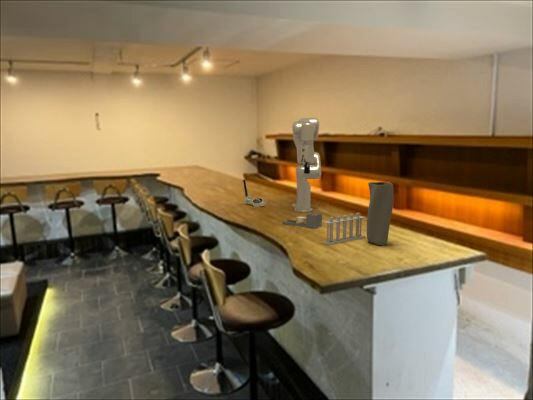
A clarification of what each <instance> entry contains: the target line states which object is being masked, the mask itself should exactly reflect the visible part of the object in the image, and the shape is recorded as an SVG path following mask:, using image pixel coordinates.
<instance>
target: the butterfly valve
mask: <svg viewBox="0 0 533 400" xmlns="http://www.w3.org/2000/svg"><path fill="white" fill-rule="evenodd" d="M242 183H243V188H244V194H245V199H244V203H245V205H246V206H247V205H252V207H255V208H259V207H263V206H265V205H266V204H267V201H266V200H265V201H264V198H261V197H257V198H253V199H252V196H251V195H249V194H248V189H247V182H246V179H243V180H242Z"/></svg>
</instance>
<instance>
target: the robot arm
mask: <svg viewBox="0 0 533 400" xmlns="http://www.w3.org/2000/svg"><path fill="white" fill-rule="evenodd" d="M291 128H292V137H293V138H292V140H293V143H294V145H295V148H296V160H297V161H296V162H297V164H298V166H296V167H295V177H296V203H292V204H291V207H293V208H294V211H295V212H299V213H308V212H309V213H310V212H312V211H313V210H314V209H313V208H311V197H312V196H311V195H312V194H311V190H312V189H311V184H310V182H309V181H308V180H318V179H320V178H321V176H322V165H321V164H322V163H321V156H320V153H319V152H316V151H315V149H314V148H315V147H314V141H315V140H317V139H318V138H319V137H318V136H319V131H320V122H319V119H318V118H317V117H302V118H299V120H297V121H296V120H295V121H294V122H293V123H292V127H291Z"/></svg>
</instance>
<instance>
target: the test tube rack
mask: <svg viewBox="0 0 533 400" xmlns="http://www.w3.org/2000/svg"><path fill="white" fill-rule="evenodd" d="M355 215H356V216H354V213H350V214H349V217H347V216H348V215H347V214H343V215H342V218H341V215H336V219H334V217H333V216H330V217H329V220H324V221H323V223H324V224H326V240H324V241H322V244H324V245H327V246H331V245H334V244H339V243H344V242H346V243H347V242H350V241H355V240H359V239H360V240H361V239H365V238H366V236H365V235H362V221H363V219H367V216H362V215H361V214H360V212H356V213H355ZM354 221H355V235H354V234H353V233H354V232H353V231H354ZM348 222H349V224H348V226H349V229H348V230H349V231H348V233H349V234H348V235H349V236H347V223H348ZM341 223H342V237H340V236H341V235H340V233H341ZM334 224H336V225H335V226H336V227H335V231H336V233H335V238H334Z"/></svg>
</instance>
